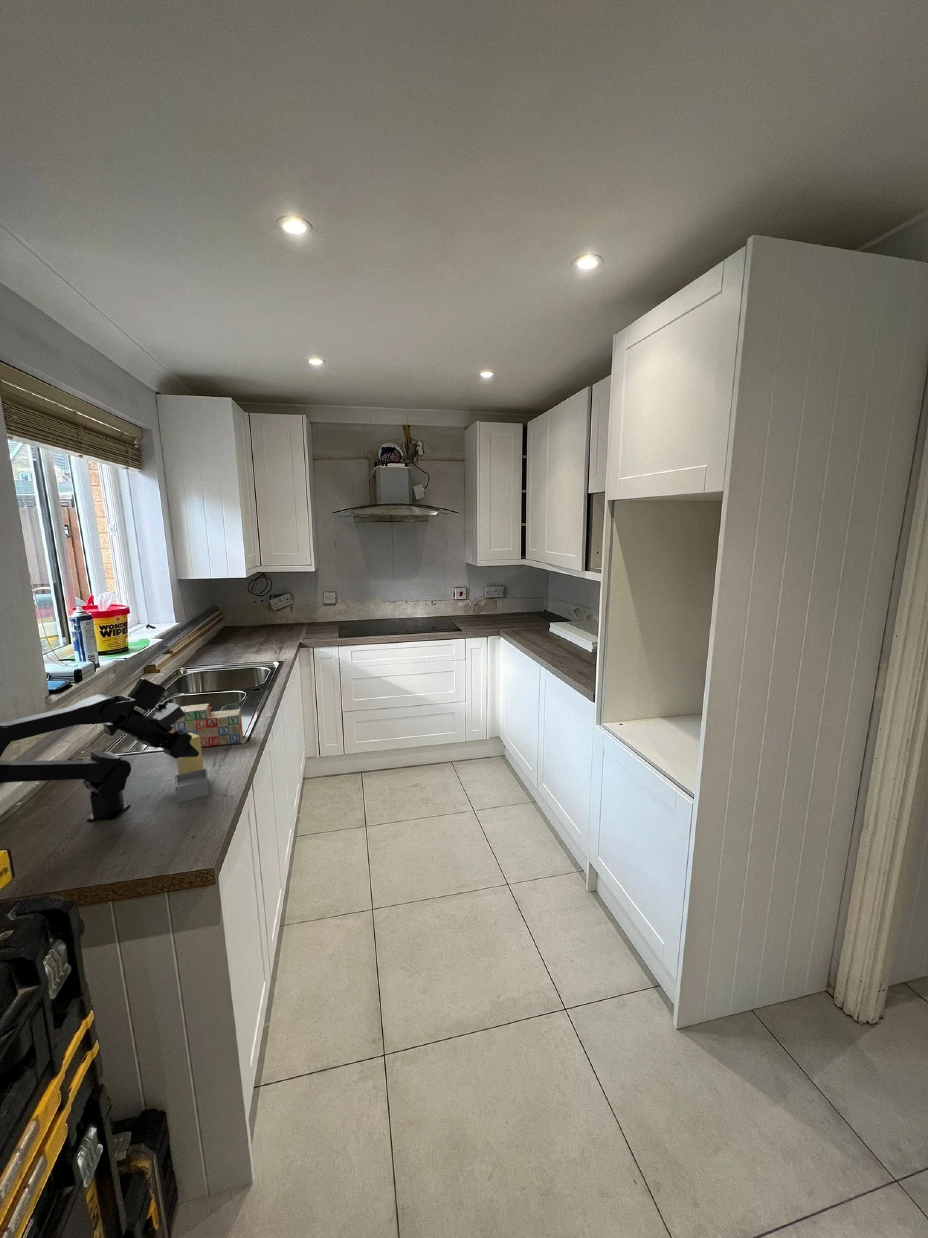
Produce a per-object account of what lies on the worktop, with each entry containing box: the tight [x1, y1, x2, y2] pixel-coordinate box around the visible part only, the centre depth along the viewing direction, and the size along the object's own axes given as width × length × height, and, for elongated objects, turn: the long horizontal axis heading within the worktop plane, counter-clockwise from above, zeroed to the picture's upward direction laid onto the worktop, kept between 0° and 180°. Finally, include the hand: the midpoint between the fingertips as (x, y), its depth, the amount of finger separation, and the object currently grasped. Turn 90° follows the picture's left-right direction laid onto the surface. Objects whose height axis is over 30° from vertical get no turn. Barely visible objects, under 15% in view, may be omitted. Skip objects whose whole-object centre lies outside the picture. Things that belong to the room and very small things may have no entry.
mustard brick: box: [176, 733, 205, 775], centre depth 135 cm, size 4×4×12 cm
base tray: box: [174, 768, 210, 804], centre depth 128 cm, size 7×7×4 cm
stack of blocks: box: [169, 703, 244, 747], centre depth 159 cm, size 21×6×12 cm, turn 106°
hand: (188, 751), depth 135 cm, fingers open, 9 cm apart
